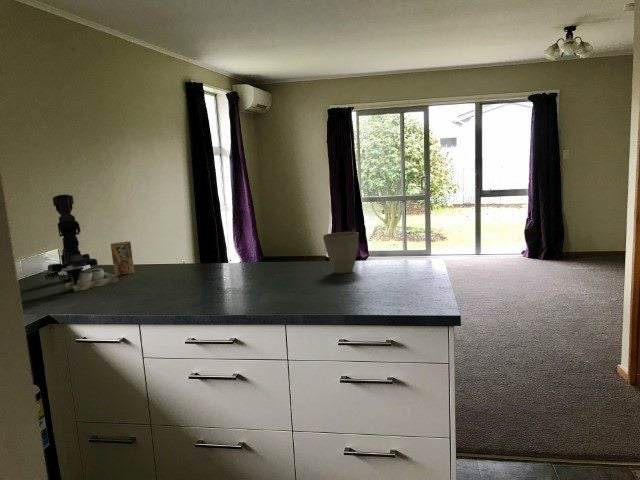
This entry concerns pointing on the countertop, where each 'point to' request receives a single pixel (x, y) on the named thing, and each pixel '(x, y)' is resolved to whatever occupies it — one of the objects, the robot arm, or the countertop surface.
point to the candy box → (122, 258)
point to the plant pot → (342, 250)
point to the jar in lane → (97, 274)
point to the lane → (92, 283)
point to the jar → (85, 277)
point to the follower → (106, 275)
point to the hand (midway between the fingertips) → (75, 285)
